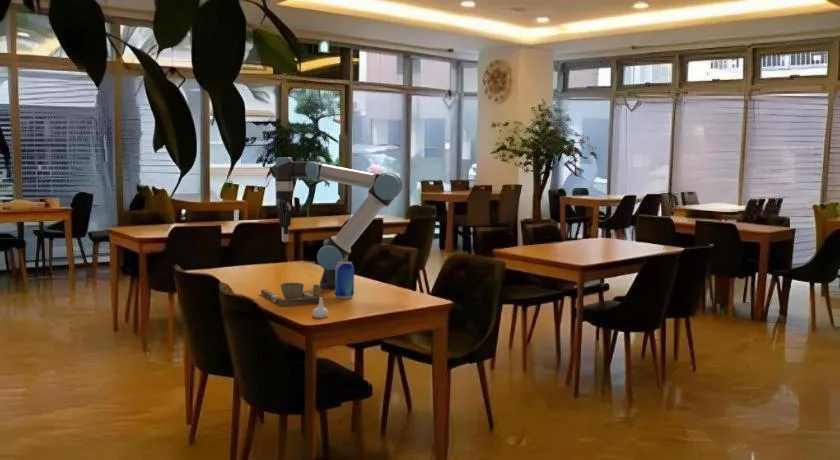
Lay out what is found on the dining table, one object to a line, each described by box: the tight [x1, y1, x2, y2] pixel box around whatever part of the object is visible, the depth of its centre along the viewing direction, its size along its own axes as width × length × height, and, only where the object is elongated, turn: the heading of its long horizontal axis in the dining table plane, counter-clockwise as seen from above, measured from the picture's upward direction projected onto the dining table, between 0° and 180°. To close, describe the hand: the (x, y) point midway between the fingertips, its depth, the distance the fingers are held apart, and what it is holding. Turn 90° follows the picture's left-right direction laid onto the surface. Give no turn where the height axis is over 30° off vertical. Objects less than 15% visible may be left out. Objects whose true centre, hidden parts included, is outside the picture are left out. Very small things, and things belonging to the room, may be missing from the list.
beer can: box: [334, 261, 355, 300], centre depth 352 cm, size 8×8×16 cm
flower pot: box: [280, 282, 305, 300], centre depth 343 cm, size 10×10×7 cm
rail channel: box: [260, 284, 320, 307], centre depth 347 cm, size 32×21×6 cm, turn 27°
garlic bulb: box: [311, 296, 330, 319], centre depth 310 cm, size 6×6×8 cm
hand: (285, 240), depth 367 cm, fingers closed
